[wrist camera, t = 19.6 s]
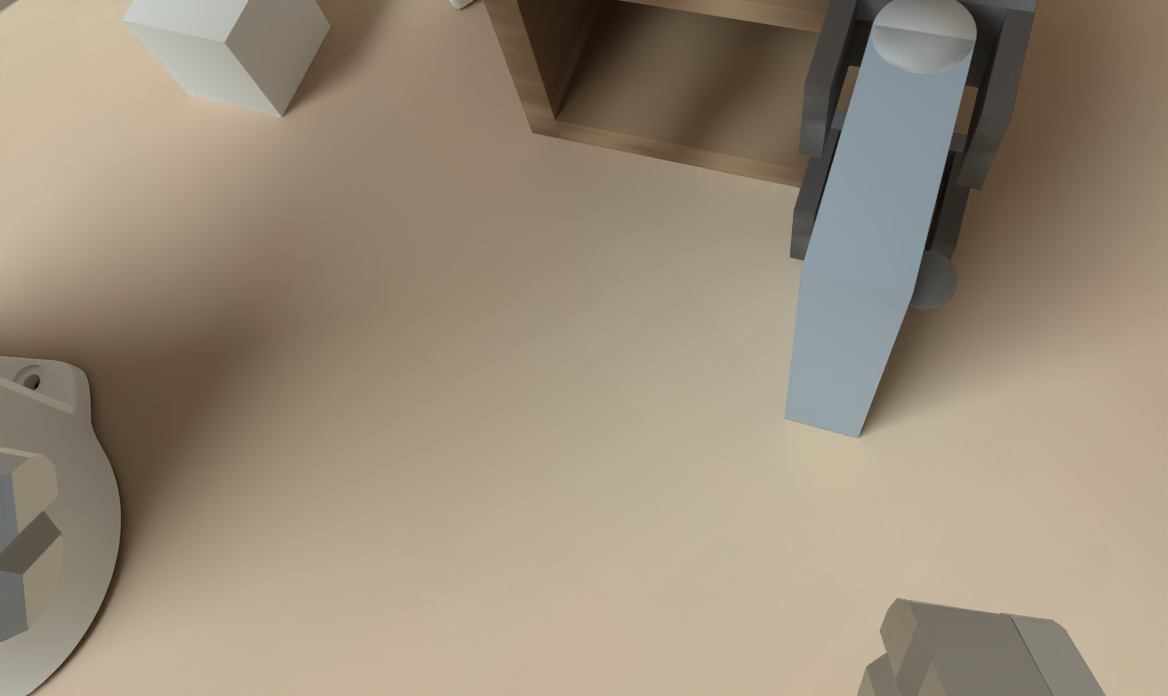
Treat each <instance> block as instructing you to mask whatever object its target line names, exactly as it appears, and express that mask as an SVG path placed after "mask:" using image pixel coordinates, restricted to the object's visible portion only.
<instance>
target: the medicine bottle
mask: <svg viewBox="0 0 1168 696" xmlns="http://www.w3.org/2000/svg"><path fill="white" fill-rule="evenodd" d="M472 1H474V0H449V2H450V3H451V4H452V5H453V6H454V7H455V8H457V9H461V8H463V7H465V6H466V5H468V4H469V3H471V2H472Z"/></svg>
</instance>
